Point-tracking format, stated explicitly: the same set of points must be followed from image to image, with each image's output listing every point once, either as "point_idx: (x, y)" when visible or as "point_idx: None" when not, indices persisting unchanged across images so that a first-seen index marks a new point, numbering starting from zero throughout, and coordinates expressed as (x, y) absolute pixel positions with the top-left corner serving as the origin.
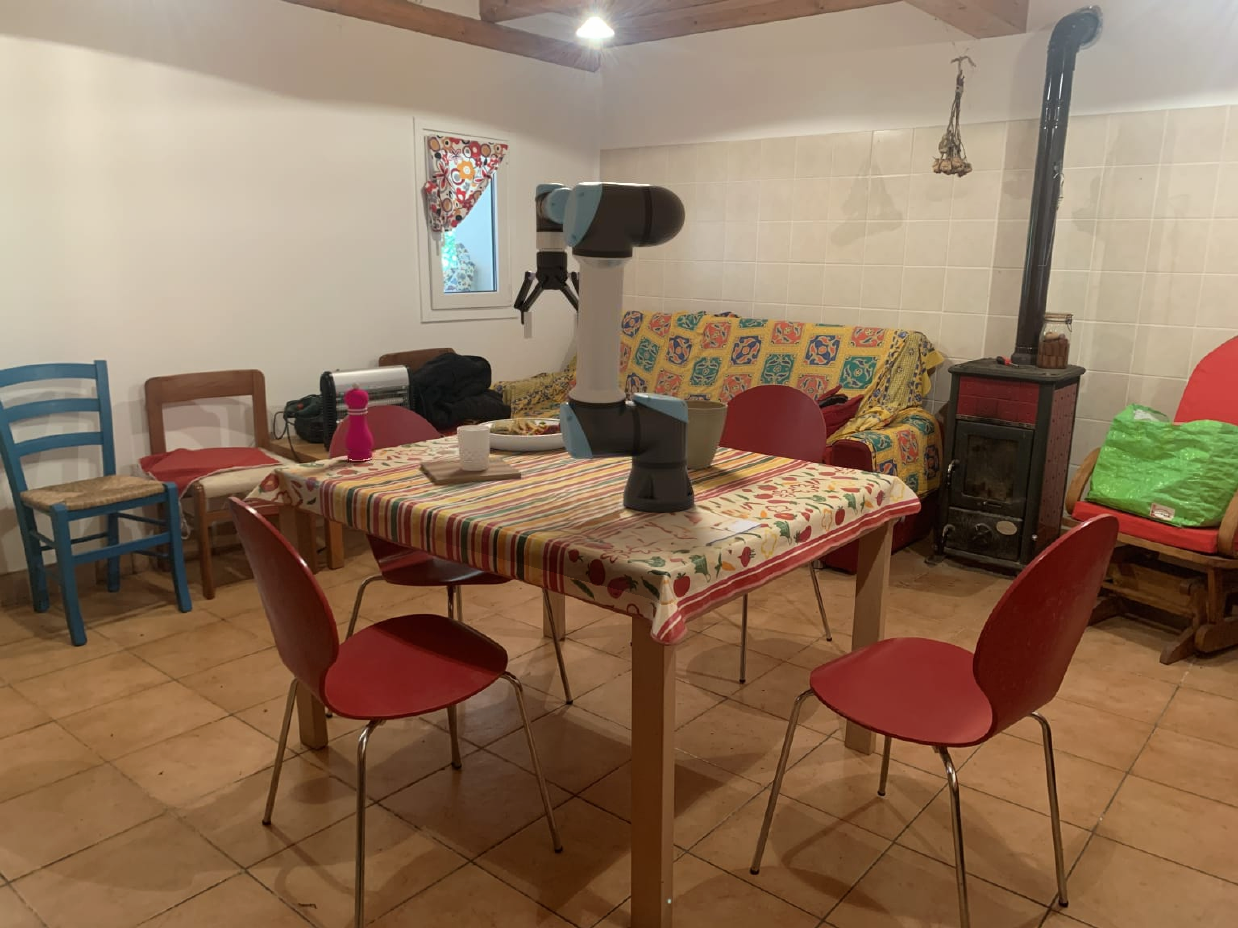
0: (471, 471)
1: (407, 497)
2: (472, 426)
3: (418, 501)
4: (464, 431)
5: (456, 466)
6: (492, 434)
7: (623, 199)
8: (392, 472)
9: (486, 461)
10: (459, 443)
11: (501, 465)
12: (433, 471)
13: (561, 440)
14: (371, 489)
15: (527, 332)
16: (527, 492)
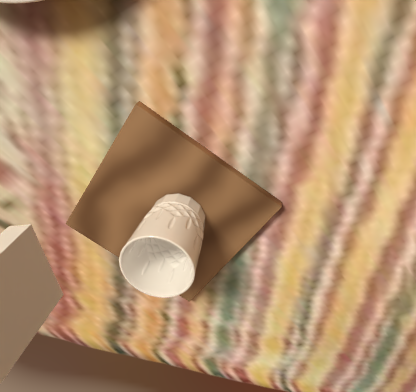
0: None
1: (210, 354)
2: (130, 243)
3: (237, 363)
4: (165, 296)
5: (139, 219)
6: (7, 2)
7: None
8: (68, 263)
9: (203, 224)
10: (154, 271)
11: (204, 172)
12: None
13: None
14: (136, 341)
15: (32, 320)
16: (354, 279)
